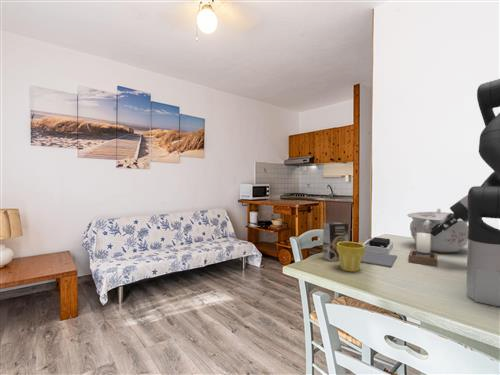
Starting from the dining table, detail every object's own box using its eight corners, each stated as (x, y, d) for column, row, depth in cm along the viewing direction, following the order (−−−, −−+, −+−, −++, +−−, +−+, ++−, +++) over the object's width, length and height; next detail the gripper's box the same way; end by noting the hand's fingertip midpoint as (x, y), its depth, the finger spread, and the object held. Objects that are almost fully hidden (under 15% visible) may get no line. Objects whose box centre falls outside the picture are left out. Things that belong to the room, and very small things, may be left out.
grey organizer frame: (388, 254, 126) (388, 248, 125) (361, 250, 132) (361, 245, 132) (392, 247, 139) (393, 242, 138) (368, 243, 146) (368, 239, 145)
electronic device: (369, 250, 132) (369, 240, 132) (374, 246, 141) (374, 237, 141) (385, 253, 128) (385, 242, 128) (389, 248, 136) (389, 238, 136)
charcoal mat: (391, 267, 106) (391, 266, 106) (349, 260, 115) (349, 259, 115) (396, 256, 121) (396, 255, 121) (359, 251, 130) (359, 250, 130)
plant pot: (369, 269, 104) (369, 244, 104) (356, 275, 97) (356, 249, 97) (344, 263, 112) (345, 240, 112) (331, 268, 105) (331, 244, 105)
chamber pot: (446, 243, 148) (446, 205, 147) (489, 257, 120) (490, 211, 119) (395, 242, 148) (395, 205, 147) (426, 257, 121) (427, 211, 120)
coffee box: (330, 261, 114) (330, 224, 113) (322, 257, 120) (322, 222, 119) (348, 260, 116) (349, 223, 116) (340, 256, 122) (340, 221, 122)
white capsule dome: (430, 264, 110) (430, 235, 110) (415, 261, 114) (415, 234, 113) (430, 261, 115) (431, 233, 114) (416, 258, 118) (416, 232, 118)
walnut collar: (437, 266, 107) (437, 259, 107) (408, 262, 113) (408, 255, 113) (437, 260, 115) (437, 253, 115) (410, 256, 121) (410, 250, 121)
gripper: (458, 199, 112) (425, 223, 119) (460, 201, 101) (424, 228, 108) (474, 212, 109) (439, 236, 116) (478, 216, 98) (439, 243, 105)
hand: (432, 232), depth 112 cm, fingers open, 8 cm apart
